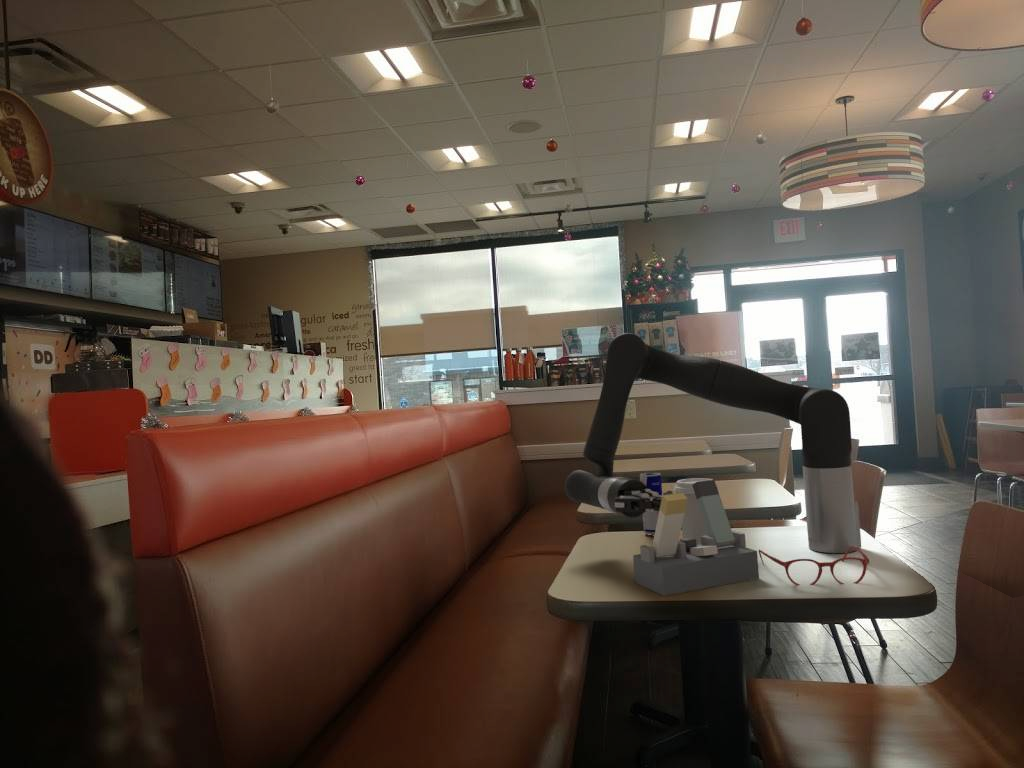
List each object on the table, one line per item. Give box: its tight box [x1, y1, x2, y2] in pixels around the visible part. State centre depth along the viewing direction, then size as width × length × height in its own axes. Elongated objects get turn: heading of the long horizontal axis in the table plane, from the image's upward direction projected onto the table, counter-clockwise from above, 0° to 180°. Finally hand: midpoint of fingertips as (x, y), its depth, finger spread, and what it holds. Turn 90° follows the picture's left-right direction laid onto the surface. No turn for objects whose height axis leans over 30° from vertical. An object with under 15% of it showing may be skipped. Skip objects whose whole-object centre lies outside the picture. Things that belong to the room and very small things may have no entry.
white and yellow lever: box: [651, 493, 688, 558], centre depth 120 cm, size 5×2×13 cm, turn 109°
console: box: [632, 530, 760, 597], centre depth 124 cm, size 21×10×8 cm, turn 109°
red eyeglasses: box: [758, 547, 870, 586], centre depth 123 cm, size 17×16×5 cm
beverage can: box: [639, 472, 663, 535], centre depth 164 cm, size 5×5×15 cm
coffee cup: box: [673, 477, 719, 545], centre depth 146 cm, size 10×10×15 cm
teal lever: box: [692, 479, 736, 548], centre depth 128 cm, size 5×2×13 cm, turn 109°
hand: (669, 506), depth 119 cm, fingers closed
